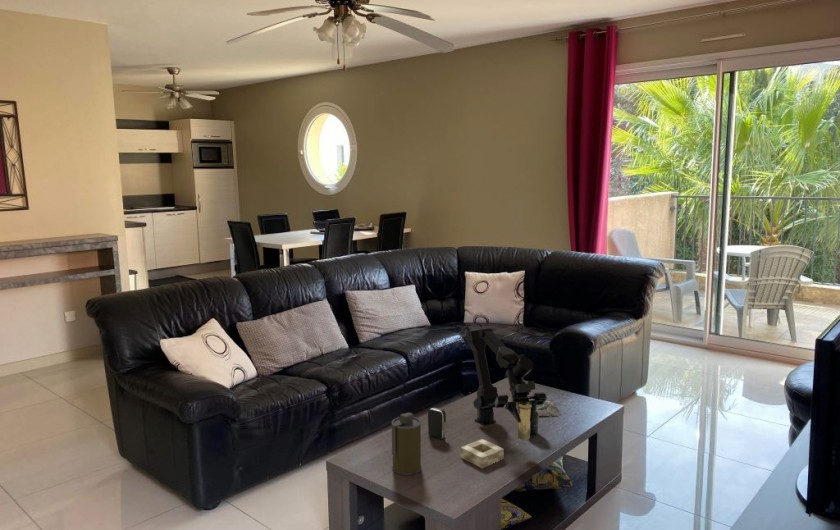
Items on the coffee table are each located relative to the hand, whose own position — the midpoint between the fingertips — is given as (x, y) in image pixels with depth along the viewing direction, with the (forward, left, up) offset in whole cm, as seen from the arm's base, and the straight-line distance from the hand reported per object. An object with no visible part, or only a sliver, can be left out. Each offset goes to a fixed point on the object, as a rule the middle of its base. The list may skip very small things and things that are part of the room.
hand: (525, 421), depth 224 cm
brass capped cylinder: (-1, +1, -7) cm, 7 cm away
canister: (-21, -39, -14) cm, 46 cm away
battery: (-34, -13, -14) cm, 39 cm away
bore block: (-9, -13, -13) cm, 21 cm away
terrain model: (-26, +37, -14) cm, 48 cm away
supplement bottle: (-12, +17, -14) cm, 25 cm away
